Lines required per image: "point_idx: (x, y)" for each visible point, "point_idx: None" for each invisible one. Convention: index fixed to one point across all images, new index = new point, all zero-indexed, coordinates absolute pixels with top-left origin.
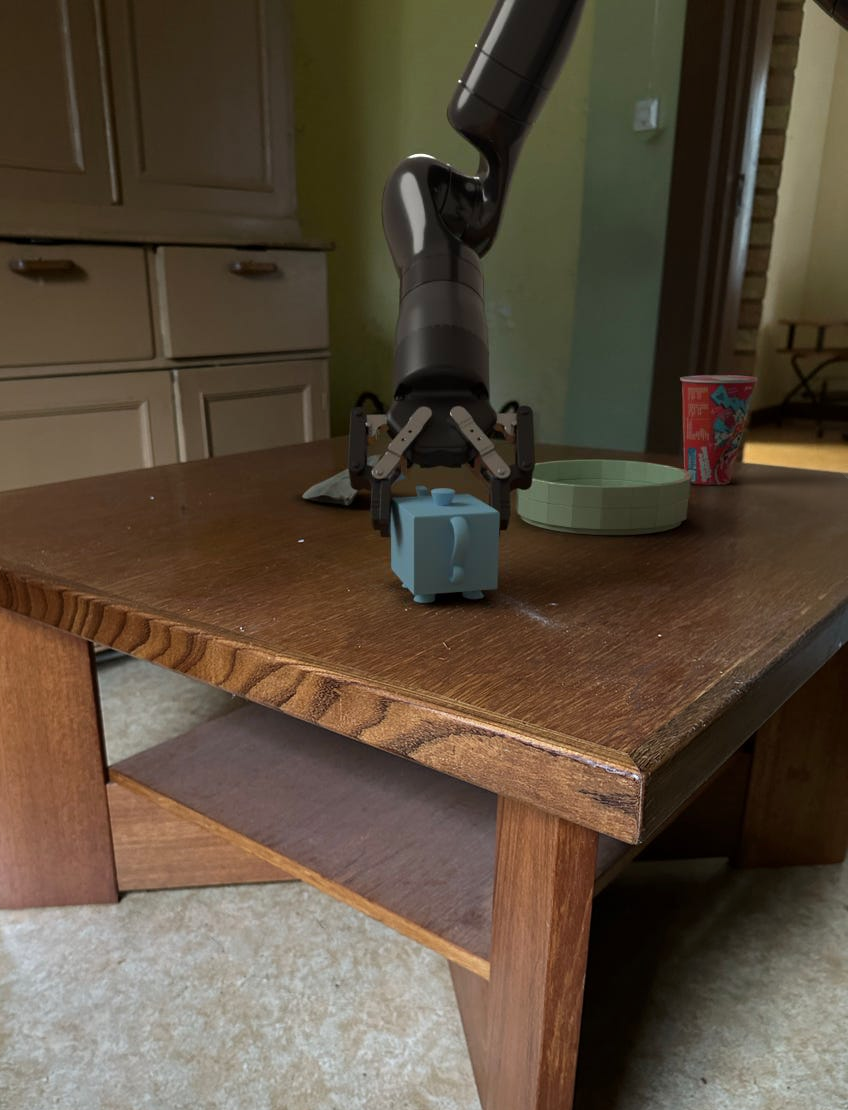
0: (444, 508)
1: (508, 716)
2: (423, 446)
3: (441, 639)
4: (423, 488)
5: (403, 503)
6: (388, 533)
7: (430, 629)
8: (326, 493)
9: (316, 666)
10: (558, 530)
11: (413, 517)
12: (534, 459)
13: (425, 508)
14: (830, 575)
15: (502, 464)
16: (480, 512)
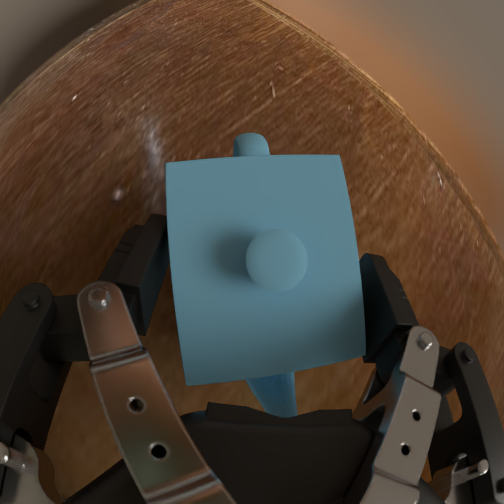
0: (274, 217)
1: (251, 2)
2: (344, 425)
3: (275, 103)
4: None
5: (352, 287)
6: None
7: (282, 130)
8: None
9: (374, 83)
10: (63, 499)
11: (340, 159)
12: (9, 304)
13: (314, 225)
14: None
15: (89, 315)
16: (205, 161)
